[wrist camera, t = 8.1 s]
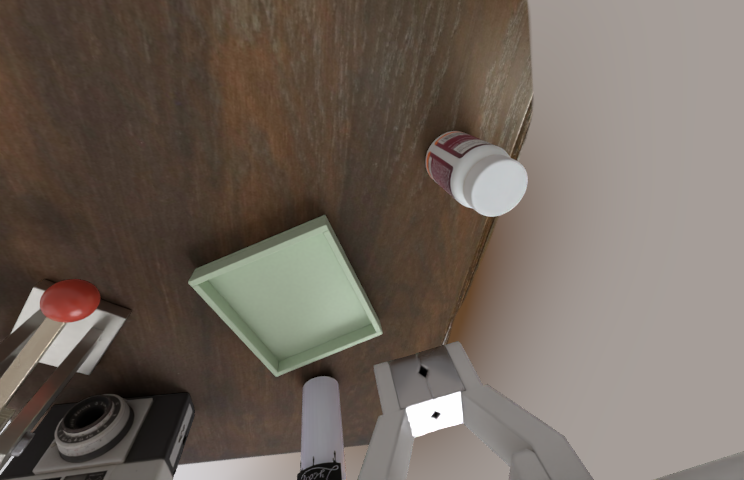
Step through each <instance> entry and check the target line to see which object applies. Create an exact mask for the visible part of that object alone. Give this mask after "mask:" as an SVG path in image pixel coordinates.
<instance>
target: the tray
mask: <svg viewBox="0 0 744 480" xmlns="http://www.w3.org/2000/svg"><path fill="white" fill-rule="evenodd" d="M188 283H189V284H190V285H191V286H192V287H193V289H194V290H195V291H196V292H197V293H198V294H199V295H200V296H201V297H202V298H203V299H204V300H205V301H206V302H207V304H208V305H209V306H210V307H211V308H212V309H213V310H214V311H215V312H216V313H217V314H218V315H219V316H220V317H221V319H222V320H223V321H224V322H225V323H226V324H227V325H228V326H229V327H230V328H231V329H232V330H233V331H234V332H235V334H236V335H237V336H238V337H239V338H240V339H241V340H242V341H243V342H244V343H245V344H246V345H247V346H248V347H249V348H250V350H251V351H252V352H253V353H254V354H255V355H256V356H257V357H258V358H259V359H260V360H261V361H262V362H263V363H264V365H265V366H266V367H267V368H268V369H269V370H270V371H271V372H272V373H273V374H274V375H275V376H276V377H277V376H279V375H282V374H284V373H287V372H289V371H292V370H294V369H297V368H299V367H302V366H304V365H307V364H309V363H312V362H314V361H317V360H319V359H322V358H324V357H327V356H329V355H332V354H334V353H336V352H339V351H341V350H344V349H346V348H349V347H351V346H354V345H356V344H359V343H361V342H364V341H366V340H369V339H371V338H374V337H376V336H379V335H381V334H383V332H382V328H381V325H380V321H379V319H378V317H377V315H376V313H375V311H374V309H373V307H372V305H371V303H370V301H369V299H368V297H367V295H366V293H365V291H364V289H363V288H362V286H361V284H360V282H359V280H358V278H357V276H356V274H355V272H354V270H353V268H352V266H351V264H350V262H349V260H348V258H347V256H346V254H345V252H344V250H343V248H342V246H341V245H340V243H339V241H338V239H337V237H336V235H335V233H334V231H333V229H332V227H331V225H330V223H329V221H328V219H327V217H326V215H323V216H320V217H318V218H316V219H313V220H311V221H308V222H306V223H304V224H301V225H299V226H296V227H294V228H292V229H289V230H287V231H285V232H282V233H280V234H277V235H275V236H273V237H270V238H268V239H265V240H263V241H261V242H258V243H256V244H253V245H251V246H249V247H246V248H244V249H242V250H239V251H237V252H234V253H232V254H230V255H227V256H225V257H222V258H220V259H218V260H215V261H213V262H211V263H208V264H206V265H203V266H201V267H199V268H196V269H195V270H194V273H193V274H192V276H191V277H190V279H189V281H188Z"/></svg>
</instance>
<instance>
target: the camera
mask: <svg viewBox="0 0 744 480" xmlns="http://www.w3.org/2000/svg"><path fill="white" fill-rule="evenodd" d="M194 413H195V410H194V406H193V403H192V400H191V398H190V395H189V393H176V394H166V395H155V396H145V397H134V398H122V397H120V396H118V395H115V394H103V395H94V396H91V397H88V398H86V399H84V400H81V401H80V402H78V403H71V404H61V405H54V406H53V407H52V408H51V410H50V411H49V412H48V414H47V415H46V416H45V418H44V419H43V420H42V422H41V423H40V424H39V426H38V427H37V428H36V429H35V431H34V432H33V433H35V435H34V437H33V438H32V440H31V441H30V443H29V444H28V445H27V447H26V448H25V449H24V451H23V452H22V453H21V454H20V456H18V457H17V456H15V457H14V458H13V459H12V461H11V462H10V463H9V465H8V466H7V467H6V469H5V470H4V471H3V472H2V474H1V475H0V480H173V477H174V474H175V472H176V469H177V466H178V463H179V460H180V457H181V454H182V451H183V448H184V445H185V442H186V439H187V437H188V434H189V431H190V428H191V425H192V422H193V419H194Z"/></svg>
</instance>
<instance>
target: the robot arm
mask: <svg viewBox="0 0 744 480" xmlns="http://www.w3.org/2000/svg"><path fill="white" fill-rule="evenodd" d="M389 365H390V366H389ZM374 372H375V377H376V382H377V387H378V392H379V397H380V402H381V407H382V412H383V415H381V416H379V417H378V420H377V423H376V426H375V429H374V432H373V435H372V438H371V441H370V444H369V447H368V450H367V453H366V456H365V459H364V461H363V464H362V467H361V471H360V474H359V476H358V479H357V480H406V478H407V473H408V468H409V463H410V457H411V453H412V448H413V442H414V437H418V436H421V435H424V434H427V433H430V432H433V431H436V430H439V429H443V428H446V427H450V426H454V425H457V424H461V423H464V425H465V426H466V427H467V428H469V429H470V430H471V431H472V432H473V433H474V434H475V435H476V436H477V437H478V438H479V439H480V440H481V441H483V442H484V443H485V444H486V445H487V446H488V447H489V448H490V449H491V450H492V451H493V452H494V453H496V454H497V455H498V456H499V457H500V458H501V459H502V460H503V461H504V462H505V463H506V464H507V465H508V466H510V473H509V480H594V479H593V478H592V476H591V475H590V473H589V472H588V471H587V469H586V468H585V466H584V465H583V463H582V462H581V460H580V459H579V457H578V456H577V454H576V453H575V451H574V450H573V448H572V447H571V445H570V444H569V442H568V441H567V439H566V438H565V436H563V435H562V434H560V433H559V432H557V431H556V430H554V429H553V428H551V427H550V426H548V425H547V424H546V423H544V422H543V421H541V420H540V419H538V418H537V417H535V416H534V415H532V414H531V413H529V412H528V411H526V410H525V409H523V408H522V407H520V406H519V405H518V404H516V403H515V402H513V401H512V400H510V399H509V398H507V397H505V396H504V395H503V394H501V393H500V392H498V391H497V390H495V389H494V388H492V387H491V386H489V385H488V384H487V385H483V384H482V382H481V380H480V379H479V377H478V375H477V373H476V371H475V369H474V368H473V365H472V364H471V362H470V360H469V358H468V356H467V354H466V352H465V350H464V349H463V347H462V345H461V344H460V343H459V342H458V341H457V342H453V343H450V344H447V345H442V346H439V347H435V348H432V349H429V350H426V351H422V352H419V353H416V354H414V355H410V356H406V357H403V358H399V359H395V360H392V361H389V362H388V361H387V362H384V363H380V364H377V365H374ZM655 480H744V451H743V452H740V453H737V454H734V455H731V456H727V457H724V458H721V459H718V460H715V461H712V462H708V463H705V464H702V465H699V466H696V467H692V468H689V469H686V470H683V471H680V472H677V473H673V474H670V475H667V476H664V477H661V478H657V479H655Z"/></svg>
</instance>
